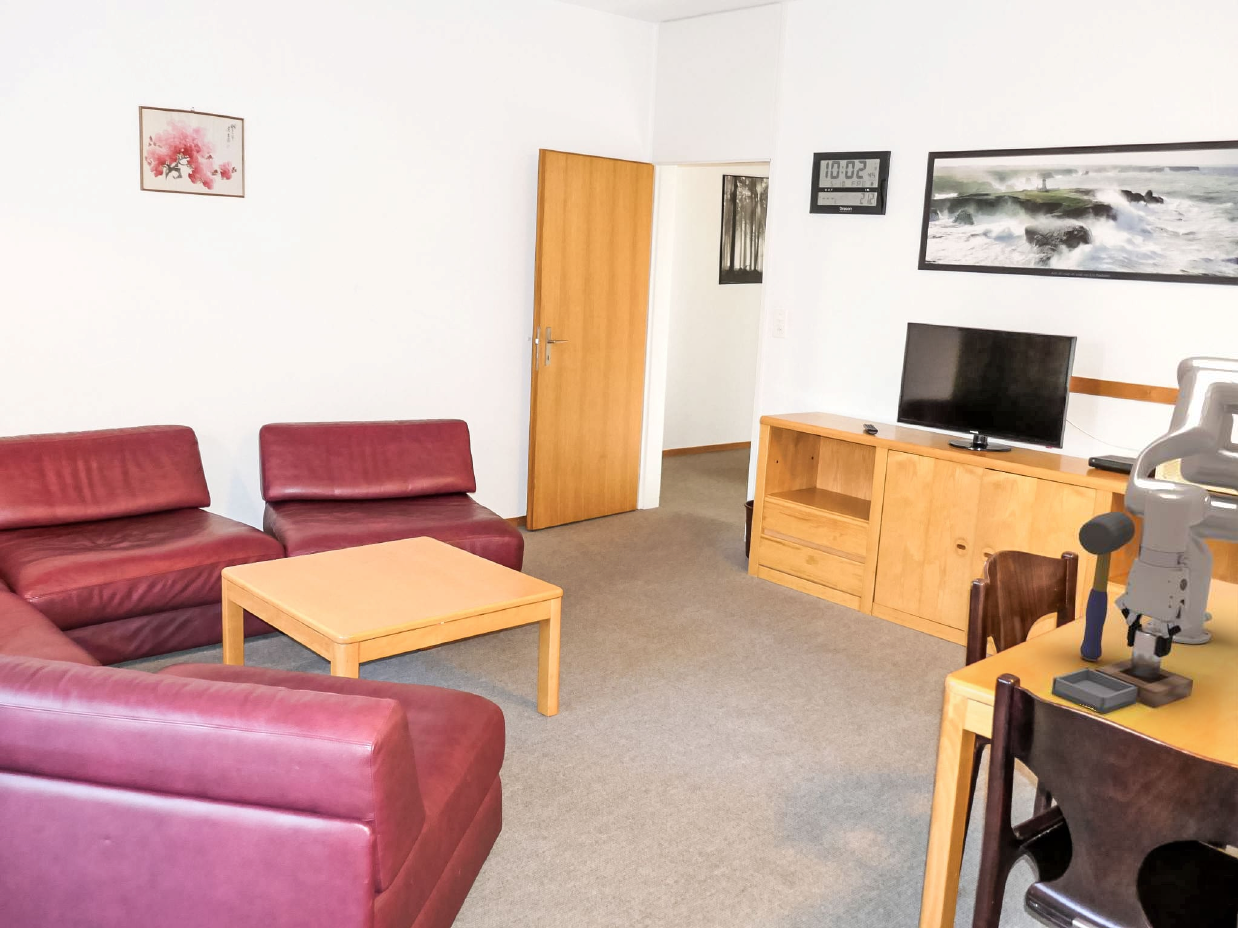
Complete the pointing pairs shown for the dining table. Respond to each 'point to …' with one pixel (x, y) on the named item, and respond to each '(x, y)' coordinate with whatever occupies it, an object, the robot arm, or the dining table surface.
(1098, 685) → the tray
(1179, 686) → the holder block
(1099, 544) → the rubber mallet
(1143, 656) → the steel peg
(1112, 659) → the dining table surface
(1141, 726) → the dining table surface
